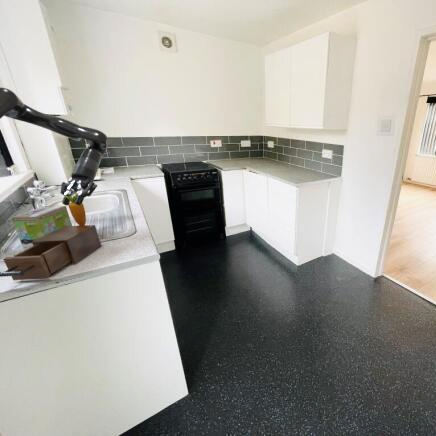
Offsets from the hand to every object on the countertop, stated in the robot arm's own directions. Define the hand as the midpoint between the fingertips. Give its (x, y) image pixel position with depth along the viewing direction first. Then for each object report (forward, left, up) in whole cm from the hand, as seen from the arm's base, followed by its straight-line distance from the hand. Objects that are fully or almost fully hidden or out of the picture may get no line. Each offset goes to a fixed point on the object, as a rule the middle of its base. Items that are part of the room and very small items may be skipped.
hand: (71, 204), depth 100 cm
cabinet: (+10, -8, -17) cm, 22 cm away
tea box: (-12, -6, -17) cm, 22 cm away
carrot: (-1, +2, -11) cm, 11 cm away
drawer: (+17, -20, -16) cm, 31 cm away
